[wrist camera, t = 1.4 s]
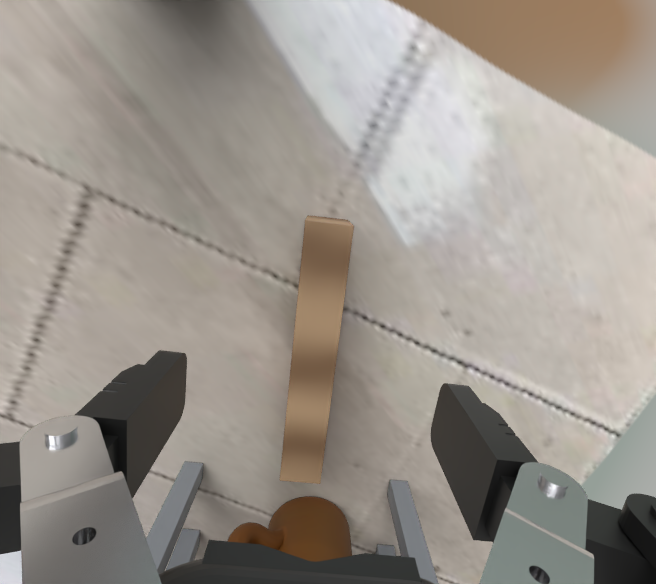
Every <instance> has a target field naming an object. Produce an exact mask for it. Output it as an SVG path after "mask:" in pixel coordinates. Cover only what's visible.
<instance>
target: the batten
mask: <svg viewBox="0 0 656 584" xmlns="http://www.w3.org/2000/svg"><path fill="white" fill-rule="evenodd" d="M353 229H354V226H353V225H352V224H351V223H350V222H349V221H348V220H343V219H334V218H326V217H317V216H309V215H308V216H307V218H306V220H305V228H304V238H303V249H302V259H301V269H300V279H299V289H298V299H297V310H296V320H295V330H294V340H293V350H292V360H291V370H290V381H289V391H288V401H287V411H286V421H285V431H284V442H283V452H282V462H281V472H280V481H292V482H305V483H317V484H320V481H321V473H322V466H323V458H324V450H325V443H326V435H327V427H328V420H329V412H330V404H331V397H332V389H333V382H334V374H335V366H336V359H337V351H338V343H339V336H340V328H341V320H342V313H343V305H344V298H345V290H346V282H347V275H348V267H349V259H350V252H351V244H352V236H353Z"/></svg>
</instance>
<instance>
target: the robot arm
mask: <svg viewBox="0 0 656 584" xmlns="http://www.w3.org/2000/svg"><path fill="white" fill-rule="evenodd" d="M186 369H187V357H186V354H185V353H179V352H170V351H161V350H160V351H158V352H157V353H156V354H155V355H154V356H153V357H152V358H151V359H150V360H149V361H148V362H147V363H146V364H145V365H140V364H137V365H135V366H133V367H131V368H129V369H126V370H124V371H122V372H121V373H120V374H119V375H118V376H117V377H116V378H114V379H113V380H112V382H111V383H109V384H108V385H107V386H106V387H105V388H104V389H103V391H100V392H99V393H98V394H97V395H96V396H95V397H94V398H93V399H92V400H91V401H90V402H88V403H87V404H86V405H85V406H84V407H83V408H82V409H81V410H80V411H79V412H78V413H77V414H75V415H72V416H63V417H58V418H54V419H50V420H47V421H45V422H42V423H40V424H38V425H36V426H34V427H33V428H31V429H30V430H29V431H27V432H26V433H25V434H24V435H23V437H22V438H21V440H20V442H14V443H4V444H0V554H4V553H10V552H15V551H20V550H21V554H22V584H434V583H432V582H430V581H428V580H426V579H423V578H420V575H419V571H418V568H417V564H416V560H415V558H413V557H401V556H390V555H378V554H366V553H365V554H359V555H353V556H348V557H342V558H336V559H330V560H324V561H318V562H313V561H308V560H305V559H302V558H299V557H296V556H293V555H290V554H287V553H285V552H282V551H279V550H276V549H273V548H270V547H267V546H264V545H261V544H250V543H239V542H227V541H215V540H209V542H208V545H207V549H206V552H205V555H204V558H203V559H200V560H195V561H191V562H188V563H184V564H181V565H178V566H176V567H173V568H171V569H168V570H166V571H164V572H162V573H160V574H158V572H157V569H156V566H155V563H154V560H153V557H152V554H151V551H150V549H149V546H148V543H147V540H146V537H145V534H144V531H143V529H142V526H141V523H140V520H139V517H138V514H137V511H136V508H135V506H134V503H133V500H132V498H133V497H134V495H135V493H136V492H137V490H138V488H139V487H140V485H141V484H142V482H143V480H144V479H145V477H146V475H147V474H148V472H149V470H150V469H151V467H152V465H153V464H154V462H155V460H156V459H157V457H158V455H159V454H160V452H161V450H162V449H163V447H164V445H165V444H166V442H167V440H168V439H169V437H170V435H171V434H172V432H173V430H174V429H175V427H176V426H177V424H178V422H179V420H180V418H181V416H182V413H183V409H184V405H185V392H186ZM431 443H432V447H433V449H434V451H435V454H436V456H437V458H438V461H439V463H440V465H441V467H442V470H443V472H444V474H445V476H446V479H447V481H448V483H449V485H450V488H451V490H452V492H453V495H454V497H455V499H456V501H457V504H458V506H459V508H460V510H461V513H462V515H463V517H464V519H465V522H466V524H467V526H468V529H469V531H470V533H471V535H472V538H473V540H480V541H491V542H493V545H492V548H491V551H490V554H489V557H488V560H487V563H486V566H485V569H484V571H483V574H482V577H481V580H480V583H479V584H656V498H655V497H652V496H648V495H644V494H631V495H629V496H628V497H627V499H626V501H625V504H624V506H623V509H622V510H620V509H617V508H614V507H611V506H608V505H605V504H601V503H598V502H595V501H592V500H589V499H588V498H587V494H586V492H585V491H584V489H583V488H582V487H581V485H580V484H579V483H578V482H576V481H575V480H574V479H573V478H572V477H570V476H569V475H567V474H566V473H564V472H562V471H560V470H558V469H556V468H554V467H552V466H549V465H546V464H542V463H538V462H537V460H536V459H535V458H534V457H533V455H532V454H531V453H530V452H529V450H528V449H527V448H526V447H525V445H524V444H523V443H522V442H521V440H520V439H519V438H518V437H517V436H515V433H514V432H513V430H512V429H511V428H510V427H508V424H507V423H506V422H505V420H504V419H503V418H502V417H501V415H500V414H499V413H497V412H496V411H495V410H493V409H492V408H491V407H489V406H488V405H486V404H485V403H482V402H481V401H480V400H479V398H478V397H477V396H476V394H475V393H474V392H473V391H472V389H471V388H470V387H469V386H464V385H456V384H447V383H445V384H443V385H442V387H441V389H440V392H439V397H438V401H437V405H436V409H435V414H434V418H433V422H432V427H431Z"/></svg>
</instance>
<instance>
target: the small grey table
mask: <svg viewBox="0 0 656 584" xmlns="http://www.w3.org/2000/svg"><path fill="white" fill-rule="evenodd" d="M202 476H203V463H197V462H184V464H183V466H182V468H181V470H180V472H179V474H178V476H177V478H176V480H175V482H174V484H173V486H172V488H171V490H170V492H169V494H168V496H167V498H166V500H165V502H164V504H163V506H162V508H161V510H160V512H159V514H158V516H157V518H156V520H155V522H154V524H153V526H152V528H151V530H150V532H149V534H148V536H147V538H146V540H147V543H148V546H149V549H150V551H151V554H152V557H153V560H154V563H155V566H156V569H157V572H158V574H160V573H162V572H164V571H165V568H166V566H167V564H168V566H167V568H166V570H168V569H171V568H173V567H176V566H178V565H181V564H184V563H188V562H191V561H194V558H195V555H196V552H197V549H198V546H199V539H200V530H190V529H182V527H183V524H184V522H185V520H186V517H187V515H188V512H189V510H190V507H191V505H192V502H193V500H194V498H195V495H196V493H197V490H198V488H199V485H200V483H201V480H202ZM387 496H388V500H389V504H390V509H391V513H392V518H393V522H394V527H395V531H396V536H397V540H398V545H399V549H400V553H401V557H413V558H415V560H416V564H417V568H418V571H419V575H420V578H423V579H426V580H428V581H430V582H432V583H434V584H439V583H438V580H437V577H436V574H435V570H434V567H433V564H432V560H431V557H430V554H429V551H428V547H427V544H426V541H425V537H424V534H423V531H422V528H421V524H420V521H419V518H418V514H417V511H416V508H415V505H414V501H413V498H412V495H411V491H410V488H409V485H408V482H407V481H399V480H390V483H389V488H388V493H387ZM181 529H182V531H181ZM180 532H181V534H180ZM179 534H180V536H179ZM178 537H179V539H178ZM177 539H178V541H177ZM176 542H177V544H176ZM175 544H176V546H175ZM174 546H175V549H174ZM173 549H174V551H173ZM172 551H173V554H172ZM171 554H172V556H171ZM376 554H378V555H390V556H396V554H395V549H394V546H391V545H379V544H377V549H376ZM170 556H171V559H170ZM169 559H170V561H169ZM168 561H169V563H168Z"/></svg>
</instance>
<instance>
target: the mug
mask: <svg viewBox="0 0 656 584" xmlns="http://www.w3.org/2000/svg"><path fill="white" fill-rule="evenodd" d="M227 542H239V543H250V544H261V545H264V546H267V547H270V548H273V549H276V550H279V551H282V552H285V553H287V554H290V555H293V556H296V557H299V558H302V559H305V560H308V561H313V562H318V561H324V560H330V559H336V558H342V557H348V556H352V550H351V539H350V531H349V525H348V522H347V520H346V517H345V515H344V514H343V512H342V511H341V510H340V509H339V508H338V507H337V506H336V505H335V504H333V503H331V502H330V501H328V500H325V499H322V498H318V497H300V498H296V499H293V500H291V501H289V502H287V503H285V504H284V505H282V506H281V507H280V508H279V509H278V510H277V511H276V512H275V514H274V515H273V517H272V519H271V521H270V524H269V527H268V529H267V528H265V527H264V526H262V525H260V524H257V523H250V522H248V523H244V524H242V525H240V526H238V527H237V528H236V529H235V530H234V531H233V532H232V534H231V535H230V536H229V539H228V541H227Z"/></svg>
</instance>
